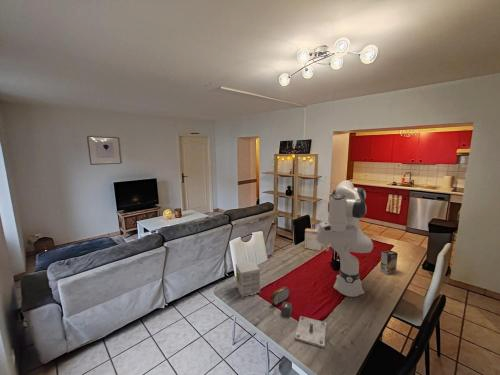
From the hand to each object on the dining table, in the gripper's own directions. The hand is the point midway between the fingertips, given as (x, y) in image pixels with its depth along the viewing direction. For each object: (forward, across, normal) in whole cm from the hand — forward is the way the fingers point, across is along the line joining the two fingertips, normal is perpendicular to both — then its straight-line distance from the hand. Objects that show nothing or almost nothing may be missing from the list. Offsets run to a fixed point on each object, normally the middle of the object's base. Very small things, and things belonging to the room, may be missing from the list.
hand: (336, 250), depth 117 cm
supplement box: (+41, +50, -27) cm, 70 cm away
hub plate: (+41, +14, +9) cm, 44 cm away
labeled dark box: (+41, +26, -5) cm, 48 cm away
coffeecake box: (+40, -9, -94) cm, 103 cm away
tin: (+41, +28, -15) cm, 52 cm away
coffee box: (+40, -57, -53) cm, 88 cm away
